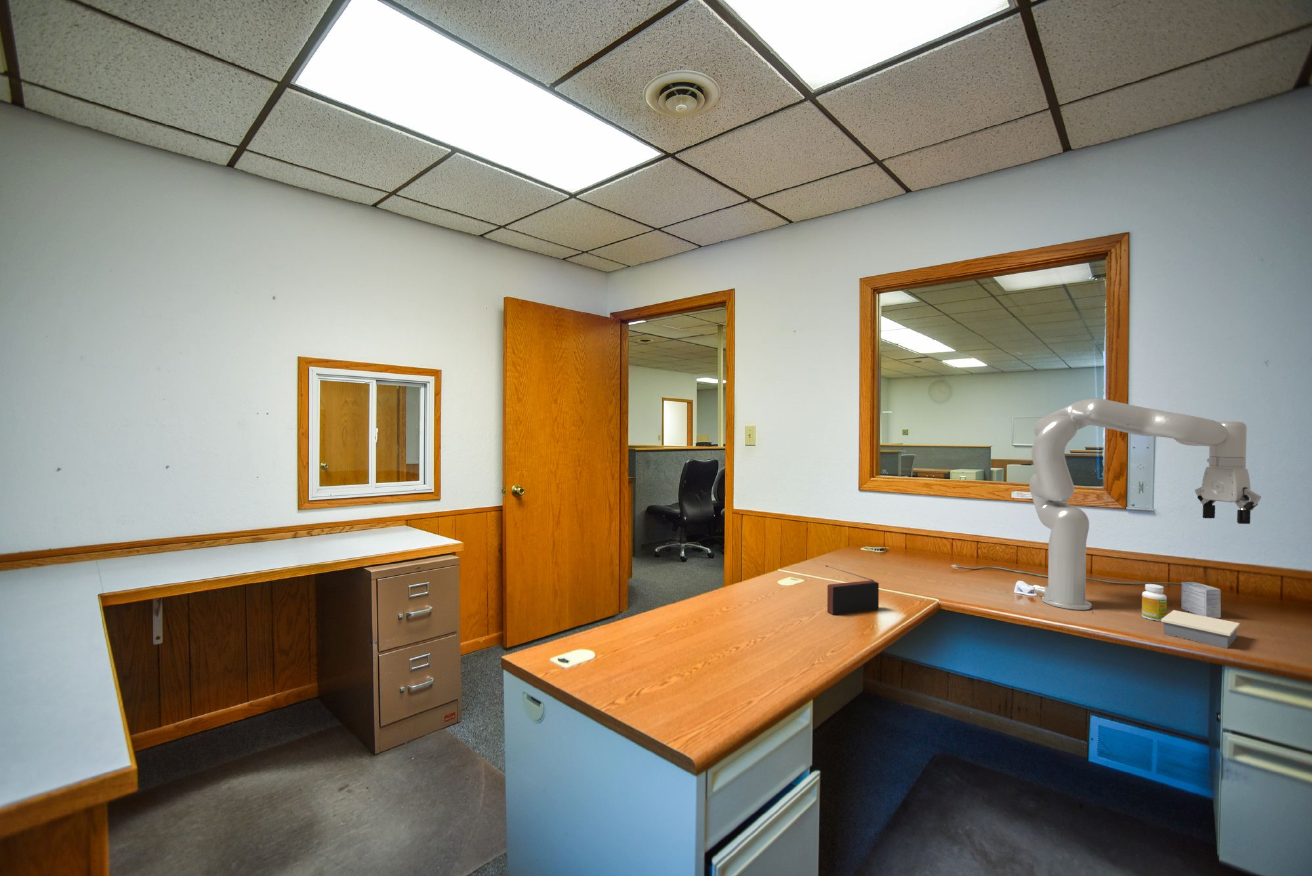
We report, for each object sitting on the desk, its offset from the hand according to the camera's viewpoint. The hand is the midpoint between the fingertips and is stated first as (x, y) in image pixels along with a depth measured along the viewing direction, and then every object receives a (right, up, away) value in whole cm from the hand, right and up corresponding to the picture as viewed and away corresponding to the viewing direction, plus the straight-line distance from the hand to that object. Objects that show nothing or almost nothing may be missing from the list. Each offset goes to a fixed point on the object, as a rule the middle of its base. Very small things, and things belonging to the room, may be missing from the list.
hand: (1225, 520), depth 162 cm
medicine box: (-5, -29, +3) cm, 29 cm away
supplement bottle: (-23, -29, -1) cm, 37 cm away
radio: (-110, -29, +5) cm, 113 cm away
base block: (-23, -29, -15) cm, 40 cm away
